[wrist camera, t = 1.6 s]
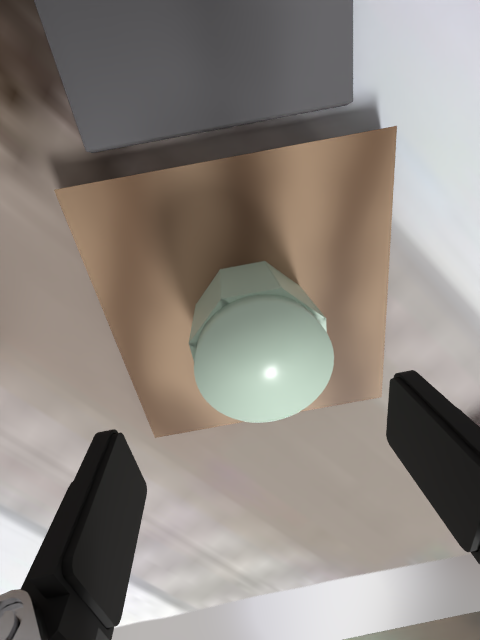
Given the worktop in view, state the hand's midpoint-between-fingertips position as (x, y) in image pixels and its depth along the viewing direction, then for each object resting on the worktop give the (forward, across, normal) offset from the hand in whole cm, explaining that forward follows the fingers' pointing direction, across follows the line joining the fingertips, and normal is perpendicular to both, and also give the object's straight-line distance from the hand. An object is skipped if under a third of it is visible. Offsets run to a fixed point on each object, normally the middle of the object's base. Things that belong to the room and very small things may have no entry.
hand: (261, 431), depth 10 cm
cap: (+10, -1, 0) cm, 10 cm away
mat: (+11, -1, -16) cm, 19 cm away
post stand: (+11, -1, 0) cm, 11 cm away
